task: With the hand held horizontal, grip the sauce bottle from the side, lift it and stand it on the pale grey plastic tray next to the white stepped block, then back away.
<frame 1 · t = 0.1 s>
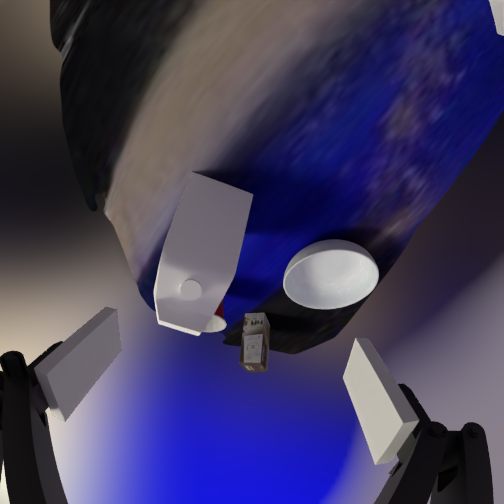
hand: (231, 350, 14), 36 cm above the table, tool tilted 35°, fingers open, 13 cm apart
coffee box: (258, 319, 85), on the table
serving bowl: (329, 259, 62), on the table
milk: (213, 204, 53), on the table
white stepped block: (495, 3, 13), on the table
plastic cup: (212, 284, 73), on the table
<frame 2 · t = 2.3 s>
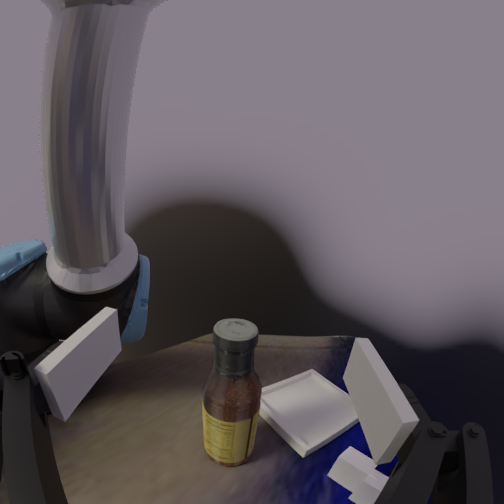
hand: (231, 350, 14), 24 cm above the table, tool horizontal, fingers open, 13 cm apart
sauce bottle: (227, 452, 29), on the table
tray: (307, 411, 38), on the table
white stepped block: (361, 492, 22), on the table
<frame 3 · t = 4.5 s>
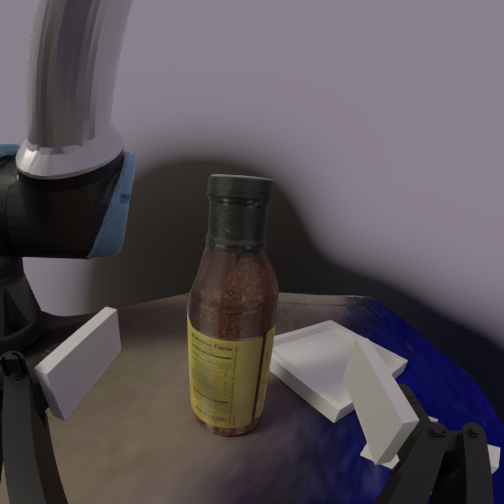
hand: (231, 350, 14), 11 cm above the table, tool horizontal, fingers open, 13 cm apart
sauce bottle: (224, 417, 21), on the table
tray: (331, 366, 30), on the table
white stepped block: (411, 471, 14), on the table
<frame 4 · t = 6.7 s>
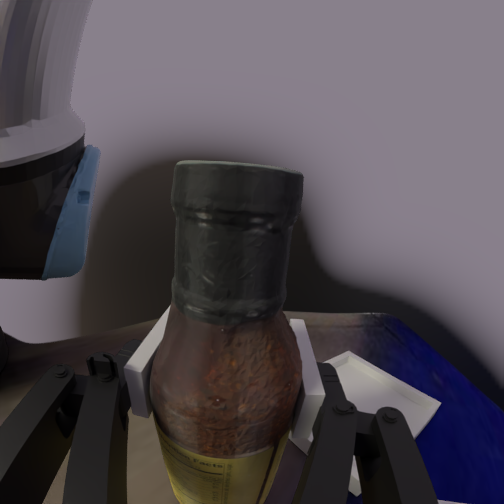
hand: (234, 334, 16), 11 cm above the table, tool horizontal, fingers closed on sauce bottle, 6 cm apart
sauce bottle: (217, 495, 13), on the table, touching gripper
tray: (351, 415, 22), on the table
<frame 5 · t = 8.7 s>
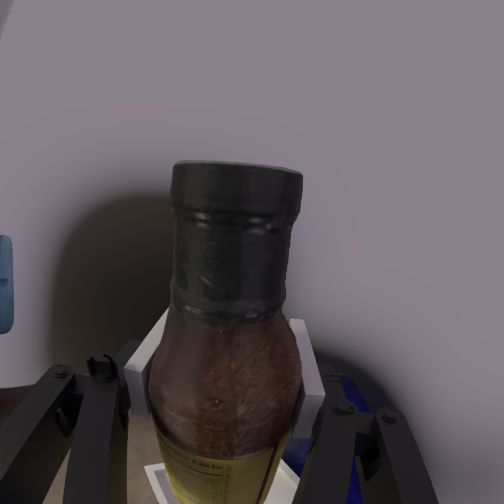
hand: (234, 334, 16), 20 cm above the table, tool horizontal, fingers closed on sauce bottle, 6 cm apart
sauce bottle: (217, 496, 13), point 9 cm above the table, touching gripper
when the fingers open (13 cm above the table, at t = 10.6 s): sauce bottle stays where it is, resting on tray.
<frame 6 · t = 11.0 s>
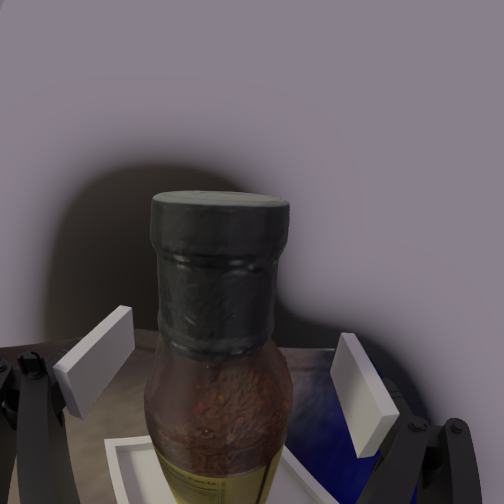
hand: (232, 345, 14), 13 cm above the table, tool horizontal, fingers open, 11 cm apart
sauce bottle: (218, 501, 13), point 1 cm above the table, touching tray
tray: (217, 503, 13), on the table
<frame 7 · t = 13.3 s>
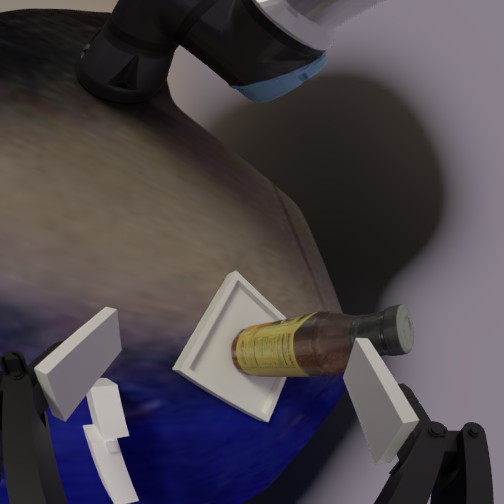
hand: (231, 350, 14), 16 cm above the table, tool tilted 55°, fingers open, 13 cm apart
sauce bottle: (245, 351, 32), point 1 cm above the table, touching tray
tray: (243, 350, 33), on the table
white stepped block: (104, 428, 20), on the table
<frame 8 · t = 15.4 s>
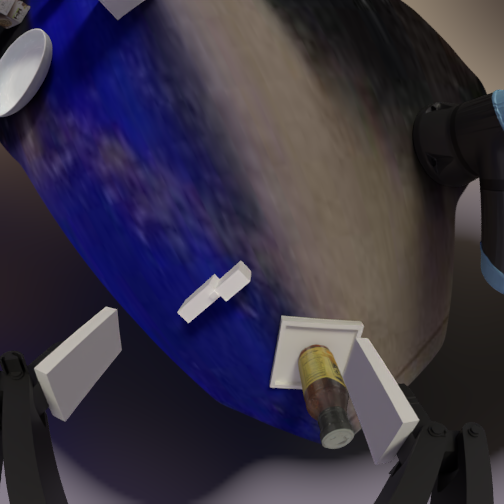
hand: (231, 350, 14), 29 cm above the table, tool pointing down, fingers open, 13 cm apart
sauce bottle: (314, 355, 45), point 1 cm above the table, touching tray
coffee box: (18, 18, 30), on the table
serving bowl: (31, 77, 36), on the table
tray: (314, 353, 46), on the table
white stepped block: (221, 286, 44), on the table
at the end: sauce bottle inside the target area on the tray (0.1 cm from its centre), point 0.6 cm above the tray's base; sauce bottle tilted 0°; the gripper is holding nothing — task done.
